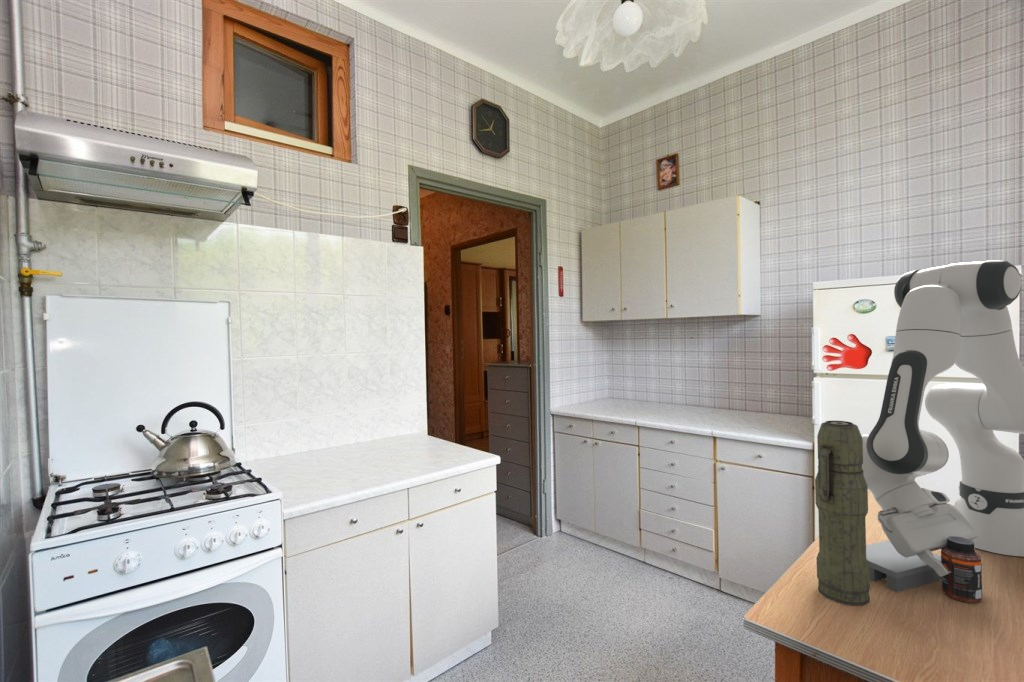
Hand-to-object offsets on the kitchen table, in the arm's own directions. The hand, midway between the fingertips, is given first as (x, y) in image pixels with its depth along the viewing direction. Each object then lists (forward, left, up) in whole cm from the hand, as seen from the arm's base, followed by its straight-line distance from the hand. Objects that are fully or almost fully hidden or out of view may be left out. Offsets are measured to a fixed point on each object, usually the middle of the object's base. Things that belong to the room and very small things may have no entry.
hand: (962, 570), depth 95 cm
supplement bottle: (0, 0, -5) cm, 6 cm away
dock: (+2, -11, -5) cm, 13 cm away
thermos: (+20, -9, -5) cm, 23 cm away
